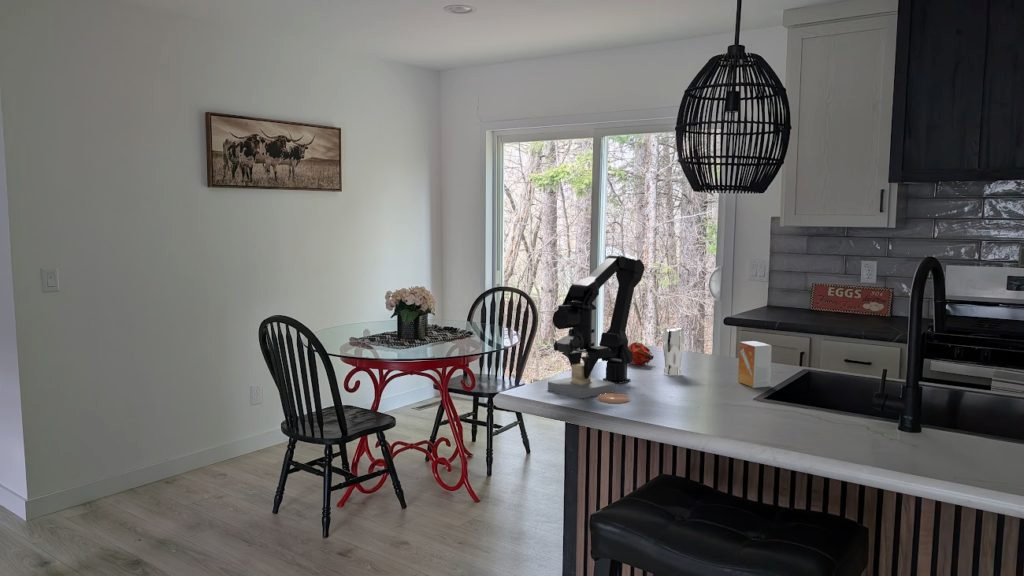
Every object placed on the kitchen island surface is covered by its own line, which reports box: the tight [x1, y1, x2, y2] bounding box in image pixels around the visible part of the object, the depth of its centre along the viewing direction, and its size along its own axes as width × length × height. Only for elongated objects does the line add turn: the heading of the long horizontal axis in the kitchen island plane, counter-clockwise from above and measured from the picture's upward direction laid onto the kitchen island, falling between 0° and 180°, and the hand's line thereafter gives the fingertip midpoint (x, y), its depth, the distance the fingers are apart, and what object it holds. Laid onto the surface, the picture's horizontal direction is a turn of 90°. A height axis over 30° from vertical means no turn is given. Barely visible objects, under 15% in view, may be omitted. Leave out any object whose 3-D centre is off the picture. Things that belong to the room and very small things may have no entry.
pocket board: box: [547, 376, 616, 400], centre depth 218 cm, size 14×14×2 cm
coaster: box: [597, 392, 630, 404], centre depth 208 cm, size 9×9×1 cm
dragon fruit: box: [628, 341, 654, 367], centre depth 256 cm, size 8×8×12 cm
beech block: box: [571, 362, 592, 385], centre depth 218 cm, size 4×4×8 cm
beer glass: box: [662, 327, 686, 377], centre depth 240 cm, size 7×7×15 cm
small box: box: [737, 340, 773, 389], centre depth 227 cm, size 8×6×13 cm
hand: (581, 377), depth 218 cm, fingers closed on beech block, 4 cm apart
